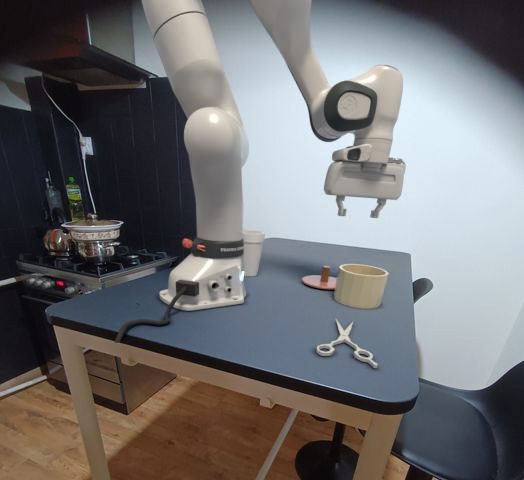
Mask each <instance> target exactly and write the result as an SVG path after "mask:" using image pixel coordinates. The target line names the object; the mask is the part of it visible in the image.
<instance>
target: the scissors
mask: <svg viewBox="0 0 524 480" xmlns="http://www.w3.org/2000/svg"><path fill="white" fill-rule="evenodd" d="M335 321H336V326H337V329H338V333H339V336H338V338H337V339H336V340H331V342H330V343H322V344H319V345H317V346H316V351H315V352H316V353H317V354H318V355H319V356H321V357H330V356H332V355H333V354H334V353H335V348H334V347H333V346H336V345H338V344H344V343H345V344H347V345H349V346H350V347H351V348H353V349H354V351H353V357H354V358H355V359H357V360H358V361H360V362H364V363H367V364H369V365H370V366H371V367H372V369H377V368H378V365H379V364H378V363H377V362H375V361H374V360H373V357H374V355H373V353H372V352H370V351H368V350H366V349H363V348H361V347H359V345H358V344H356V343H354V342H352V341H351V338H350V336H349V335H350V332H351V331H352V327H353V325H354V321H352V322H351V323H350V324H349V325H348V326H347V327H346V329H345V330H344V328H343V327H342V325H341V323H340V322H339V320H338V319H337V318H335ZM321 349H326V350H328V351H323V350H321ZM360 354H361V355H364V356H367V357H364V356H361V355H360Z"/></svg>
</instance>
